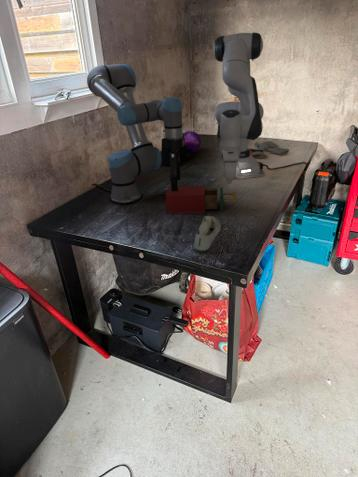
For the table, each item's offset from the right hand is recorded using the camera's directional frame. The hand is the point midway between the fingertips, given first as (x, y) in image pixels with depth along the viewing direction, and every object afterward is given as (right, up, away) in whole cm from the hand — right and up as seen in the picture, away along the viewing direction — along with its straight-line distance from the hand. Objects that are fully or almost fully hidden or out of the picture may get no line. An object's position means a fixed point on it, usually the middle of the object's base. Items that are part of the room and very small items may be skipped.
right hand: (229, 182), depth 146 cm
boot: (+11, +47, +105) cm, 116 cm away
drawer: (-7, -10, +6) cm, 14 cm away
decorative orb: (-14, +36, +88) cm, 96 cm away
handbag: (-25, +26, +71) cm, 80 cm away
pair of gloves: (+34, +34, +79) cm, 92 cm away
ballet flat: (-11, -24, -16) cm, 31 cm away
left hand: (-24, -1, +3) cm, 24 cm away
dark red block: (-19, -11, +8) cm, 23 cm away
